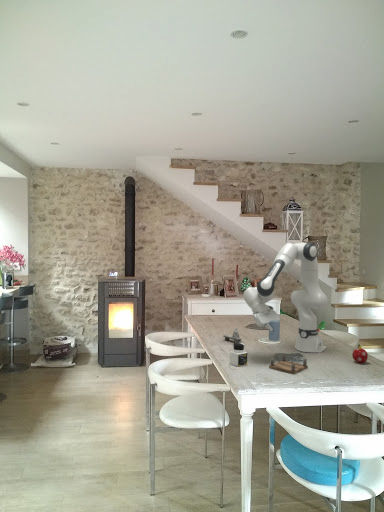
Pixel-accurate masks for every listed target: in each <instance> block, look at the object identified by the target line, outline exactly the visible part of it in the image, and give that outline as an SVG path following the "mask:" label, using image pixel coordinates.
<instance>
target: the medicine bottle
mask: <svg viewBox="0 0 384 512" xmlns="http://www.w3.org/2000/svg"><path fill="white" fill-rule="evenodd" d="M229 364H231V365H233V366H235V367H242V366H243V367H244V366H247V365H248V351H245V344H244V343H242V342H240V343H235V342H234V343H233V350H232V351H230V352H229Z"/></svg>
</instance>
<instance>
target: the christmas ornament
mask: <svg viewBox="0 0 384 512" xmlns="http://www.w3.org/2000/svg"><path fill="white" fill-rule="evenodd" d="M351 353H352V354H351V355H352V359H353V360H354V362H356V363H358V364H363V363H366V362H367V361H368V359H369V353H368V351H366V349H364V348H363V347H362V346H361V345H359V347H357V348H355V349H354V350H353V351H352V352H351Z"/></svg>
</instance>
